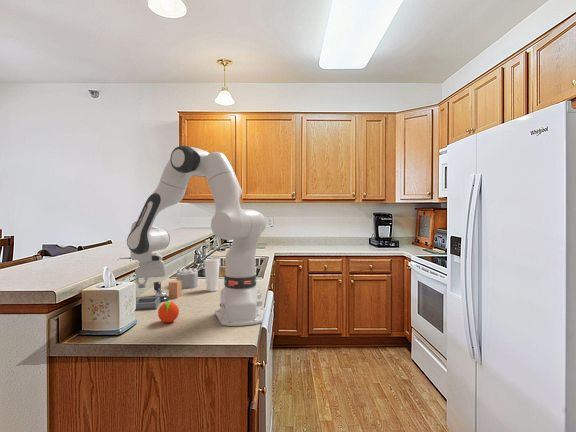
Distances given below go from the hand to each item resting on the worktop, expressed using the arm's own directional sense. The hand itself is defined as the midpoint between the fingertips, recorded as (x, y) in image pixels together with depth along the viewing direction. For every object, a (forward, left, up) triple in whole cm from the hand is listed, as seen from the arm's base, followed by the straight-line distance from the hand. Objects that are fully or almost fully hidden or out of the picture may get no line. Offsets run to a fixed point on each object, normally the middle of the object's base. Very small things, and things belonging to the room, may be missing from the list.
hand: (141, 287), depth 154 cm
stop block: (-3, -15, -4) cm, 16 cm away
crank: (-4, -8, -3) cm, 9 cm away
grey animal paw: (+20, -18, -4) cm, 27 cm away
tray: (-16, -6, -4) cm, 18 cm away
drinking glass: (+7, -31, -4) cm, 32 cm away
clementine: (-38, -18, -4) cm, 42 cm away
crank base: (-7, -10, -4) cm, 13 cm away
